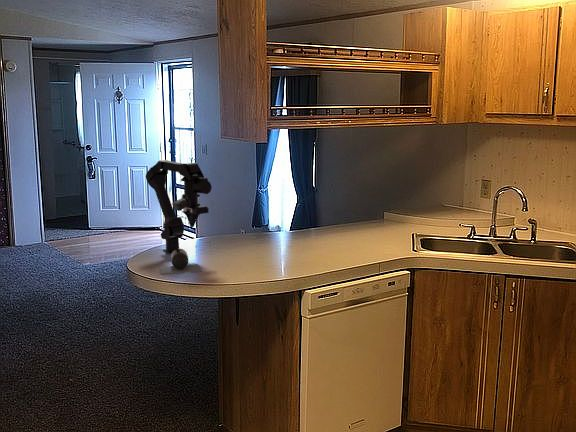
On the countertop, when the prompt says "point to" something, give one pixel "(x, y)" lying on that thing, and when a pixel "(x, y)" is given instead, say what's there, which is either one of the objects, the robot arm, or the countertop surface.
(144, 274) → the countertop surface
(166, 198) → the robot arm
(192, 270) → the metal sheet
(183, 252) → the supplement bottle
